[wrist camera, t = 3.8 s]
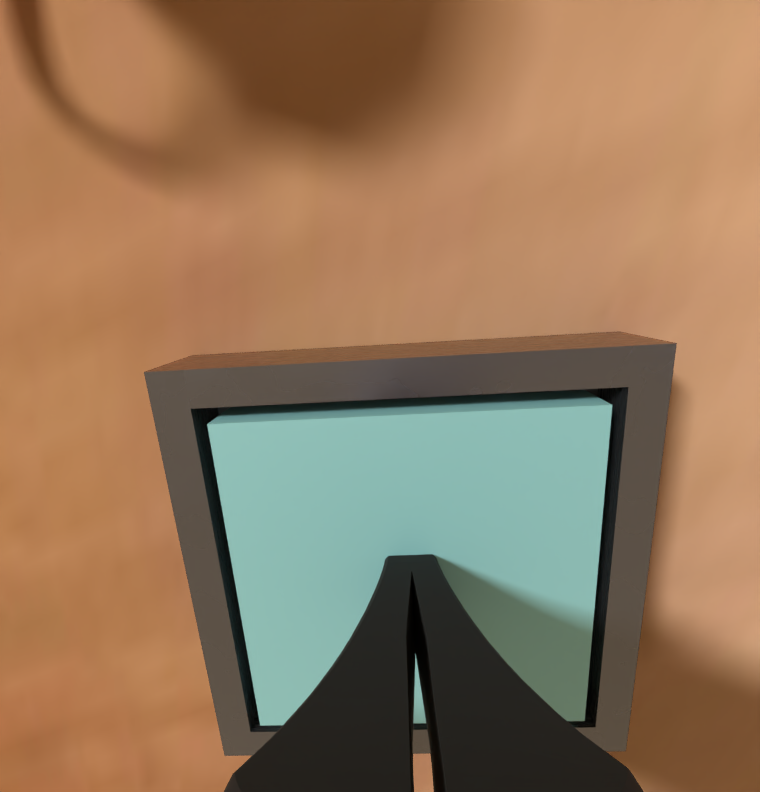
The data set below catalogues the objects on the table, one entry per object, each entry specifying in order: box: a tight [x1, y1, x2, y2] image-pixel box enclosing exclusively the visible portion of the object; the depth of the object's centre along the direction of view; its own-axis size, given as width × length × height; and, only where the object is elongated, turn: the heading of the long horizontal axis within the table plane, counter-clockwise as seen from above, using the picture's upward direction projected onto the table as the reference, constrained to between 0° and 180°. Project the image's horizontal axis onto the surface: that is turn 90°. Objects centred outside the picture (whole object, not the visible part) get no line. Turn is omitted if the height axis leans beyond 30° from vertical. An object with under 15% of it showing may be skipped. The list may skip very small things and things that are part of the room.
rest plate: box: [207, 390, 612, 726], centre depth 12 cm, size 10×10×2 cm
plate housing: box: [144, 332, 677, 756], centre depth 13 cm, size 13×13×2 cm
